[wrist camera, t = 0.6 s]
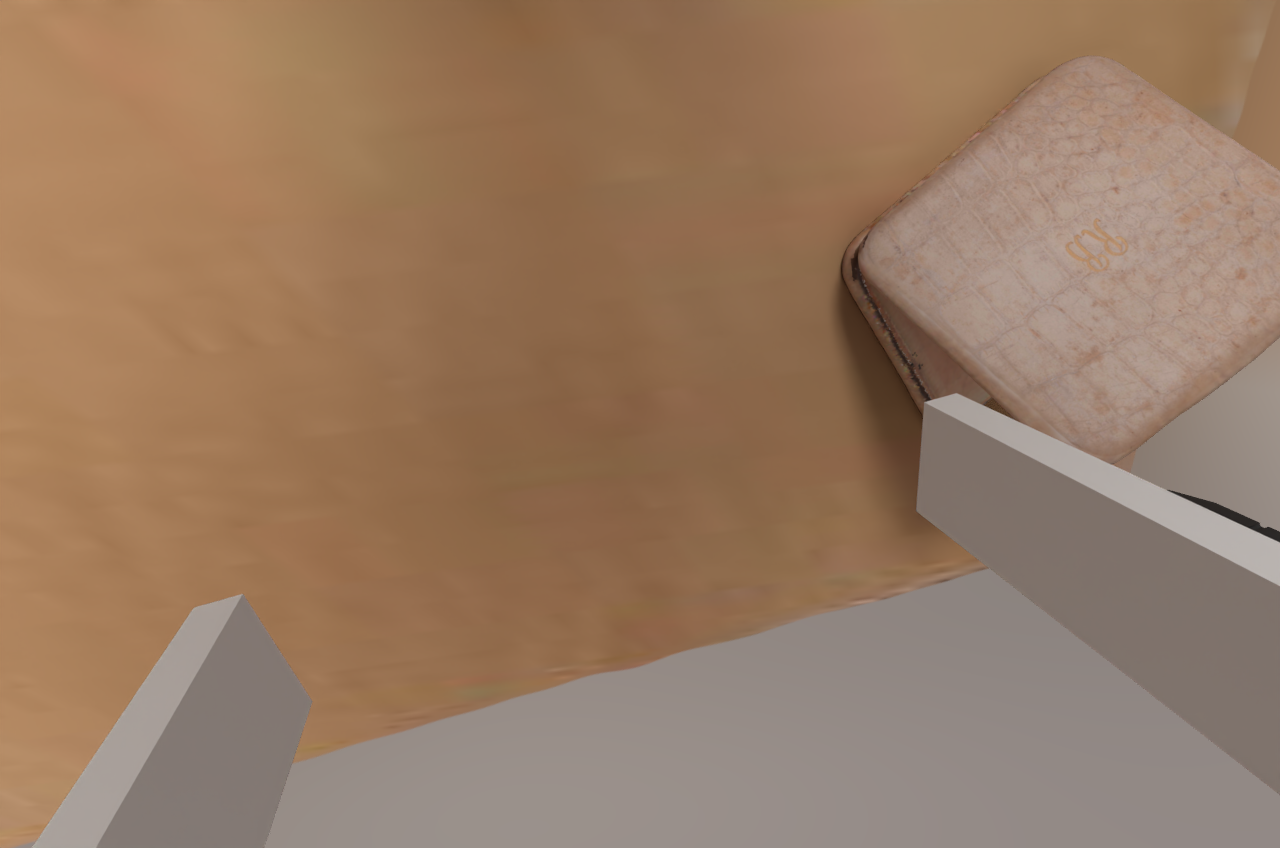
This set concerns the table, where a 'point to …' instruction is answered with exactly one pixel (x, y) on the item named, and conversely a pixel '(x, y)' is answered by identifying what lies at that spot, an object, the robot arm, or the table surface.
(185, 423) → the table surface
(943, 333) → the case
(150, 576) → the table surface
